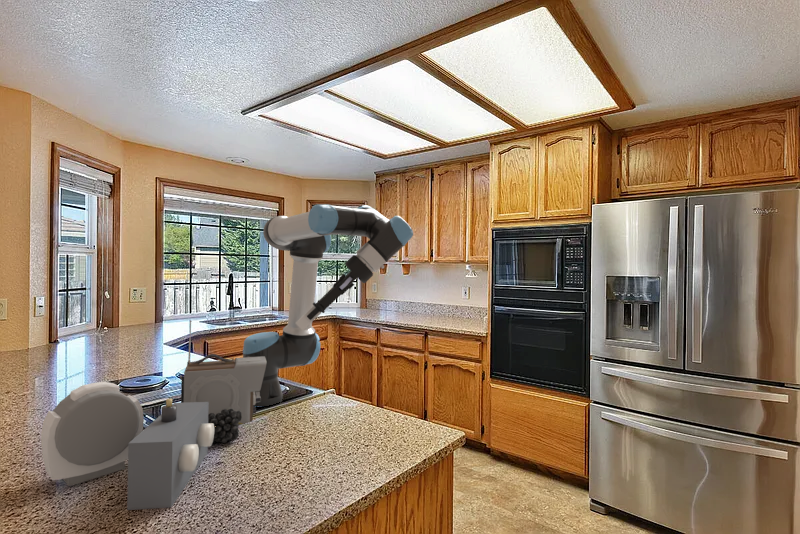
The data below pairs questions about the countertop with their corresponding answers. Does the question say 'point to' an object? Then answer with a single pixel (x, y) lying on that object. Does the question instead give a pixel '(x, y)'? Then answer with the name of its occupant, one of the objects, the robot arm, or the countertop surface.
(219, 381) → the portable television
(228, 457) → the countertop surface
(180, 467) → the knob
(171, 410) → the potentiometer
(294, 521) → the countertop surface
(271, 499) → the countertop surface
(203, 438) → the knob
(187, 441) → the block
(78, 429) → the grey rounded slab
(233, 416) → the fruit
